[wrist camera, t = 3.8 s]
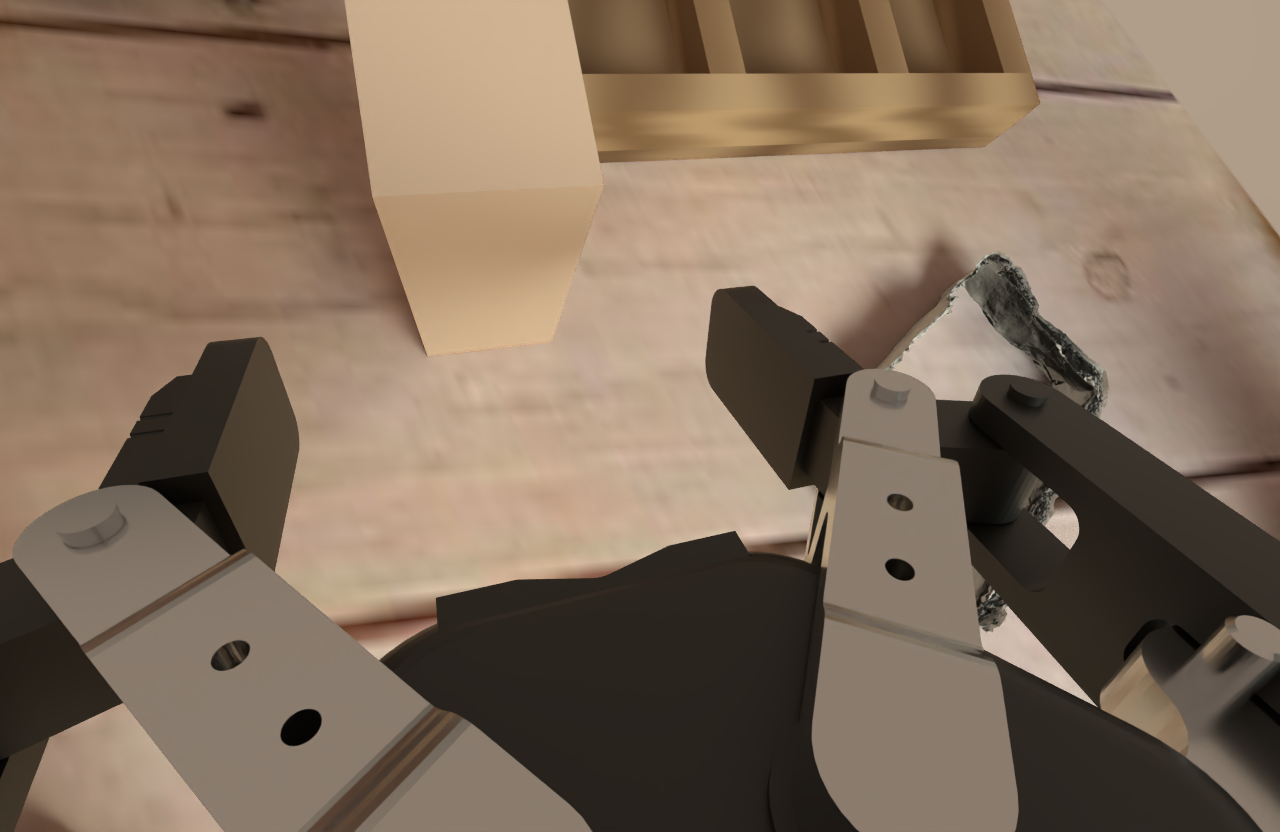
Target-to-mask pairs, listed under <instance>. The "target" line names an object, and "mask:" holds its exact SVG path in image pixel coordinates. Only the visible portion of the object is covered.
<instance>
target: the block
mask: <svg viewBox="0 0 1280 832" xmlns="http://www.w3.org/2000/svg"><path fill="white" fill-rule="evenodd" d="M345 7H346V14H347V22H348V29H349V36H350V43H351V50H352V57H353V64H354V71H355V78H356V85H357V92H358V100H359V107H360V114H361V121H362V128H363V135H364V142H365V149H366V156H367V163H368V170H369V177H370V185H371V192H372V198H373V201H374V203H375V206H376V209H377V212H378V215H379V218H380V221H381V224H382V226H383V229H384V232H385V235H386V238H387V241H388V244H389V247H390V249H391V252H392V255H393V258H394V261H395V264H396V267H397V270H398V273H399V275H400V278H401V281H402V284H403V287H404V290H405V293H406V296H407V298H408V301H409V304H410V307H411V310H412V313H413V316H414V319H415V322H416V324H417V327H418V330H419V333H420V336H421V339H422V342H423V345H424V347H425V350H426V353H427V356H437V355H445V354H454V353H462V352H471V351H479V350H487V349H496V348H504V347H513V346H521V345H530V344H538V343H547V342H552V339H553V336H554V333H555V330H556V327H557V324H558V322H559V319H560V316H561V313H562V310H563V307H564V304H565V301H566V298H567V295H568V292H569V289H570V286H571V283H572V280H573V277H574V274H575V271H576V268H577V265H578V262H579V259H580V256H581V253H582V250H583V247H584V244H585V241H586V238H587V235H588V232H589V229H590V226H591V223H592V220H593V217H594V214H595V211H596V208H597V205H598V202H599V199H600V196H601V193H602V190H603V187H604V182H603V177H602V172H601V167H600V162H599V157H598V152H597V147H596V142H595V137H594V132H593V127H592V122H591V117H590V111H589V106H588V101H587V96H586V91H585V86H584V81H583V76H582V71H581V66H580V61H579V56H578V51H577V46H576V41H575V36H574V30H573V25H572V20H571V15H570V10H569V5H568V0H345Z"/></svg>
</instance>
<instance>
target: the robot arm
mask: <svg viewBox="0 0 1280 832" xmlns="http://www.w3.org/2000/svg"><path fill="white" fill-rule="evenodd" d="M705 362H706V373H707V378H708V381H709V384H710V386H711V388H712V389H713V391H714V392H715V393H716V395H717V396H718V397H719V398H720V400H721V401H722V402H723V404H724V405H725V406H726V408H727V409H728V410H729V412H730V413H731V414H732V416H733V417H734V418H735V420H736V421H737V422H738V424H739V425H740V426H741V428H742V429H743V430H744V431H745V433H746V434H747V435H748V437H749V438H750V439H751V441H752V442H753V443H754V445H755V446H756V447H757V449H758V450H759V451H760V453H761V454H762V455H763V457H764V458H765V459H766V461H767V462H768V463H769V464H770V466H771V467H772V468H773V470H774V471H775V472H776V474H777V475H778V476H779V478H780V479H781V480H782V482H783V483H784V484H785V486H786V487H787V488H788V490H790V489H795V488H800V487H805V486H809V485H814V484H815V486H816V487H817V488H818V490H817V494H816V498H815V502H814V506H813V512H812V518H811V524H810V529H809V535H808V541H807V547H806V553H805V559H804V561H803V560H799V559H796V558H792V557H789V556H784V555H779V554H773V553H764V552H748V551H747V550H746V548H745V546H744V545H743V543H742V541H741V540H740V538H739V536H738V535H737V533H736V531H733V532H728V533H724V534H719V535H715V536H710V537H706V538H701V539H697V540H692V541H688V542H683V543H679V544H674V545H670V546H667V547H665V548H663V549H661V550H659V551H657V552H655V553H653V554H651V555H648V556H646V557H644V558H642V559H640V560H638V561H636V562H634V563H632V564H630V565H627V566H625V567H623V568H621V569H619V570H617V571H615V572H613V573H611V574H609V575H606V576H603V577H599V578H581V579H528V580H514V581H509V582H505V583H500V584H496V585H491V586H487V587H482V588H478V589H473V590H469V591H464V592H460V593H456V594H451V595H447V596H442V597H438V598H436V606H437V622H438V623H437V624H435V625H433V626H431V627H429V628H426V629H424V630H422V631H421V632H419V633H417V634H416V635H414V636H412V637H411V638H409V639H407V640H405V641H404V642H403V643H401V644H400V645H398V646H397V647H396V648H394V649H393V650H391V651H390V652H389V653H387V654H386V655H385V656H384V657H382V658H381V659H380V660H378V659H377V658H375V657H374V656H373V655H372V654H371V653H370V652H368V651H367V650H366V649H365V648H364V647H363V646H361V645H360V644H359V643H358V642H357V641H355V640H354V639H353V638H352V637H351V636H350V635H348V634H347V633H346V632H345V631H344V630H342V629H341V628H340V627H339V626H338V625H337V624H335V623H334V622H333V621H332V620H331V619H329V618H328V617H327V616H326V615H325V614H324V613H322V612H321V611H320V610H319V609H318V608H316V607H315V606H314V605H313V604H312V603H311V602H309V601H308V600H307V599H306V598H305V597H304V596H302V595H301V594H300V593H299V592H298V591H296V590H295V589H294V588H293V587H292V586H291V585H289V584H288V583H287V582H286V581H285V580H283V579H282V578H281V577H280V576H279V575H278V574H276V573H275V567H276V562H277V557H278V552H279V547H280V542H281V537H282V532H283V527H284V522H285V517H286V512H287V507H288V502H289V497H290V493H291V488H292V483H293V478H294V473H295V468H296V463H297V458H298V453H299V433H298V427H297V422H296V418H295V415H294V412H293V409H292V407H291V404H290V401H289V398H288V395H287V393H286V390H285V387H284V384H283V382H282V379H281V376H280V373H279V371H278V368H277V365H276V362H275V359H274V357H273V354H272V351H271V349H270V347H269V345H268V343H267V341H266V340H265V339H264V338H263V337H256V338H246V339H237V340H228V341H218V342H210V343H208V344H207V346H206V348H205V350H204V352H203V354H202V356H201V358H200V360H199V362H198V364H197V366H196V368H195V370H194V372H193V374H192V375H185V376H177V377H176V378H174V379H173V380H172V381H171V382H169V383H168V384H167V385H165V386H164V387H163V388H161V389H160V390H159V391H158V392H156V393H155V394H154V395H152V396H151V398H150V400H149V401H148V403H147V405H146V407H145V408H144V410H143V412H142V414H141V415H140V421H137V422H136V424H135V426H134V428H133V429H132V431H131V433H130V436H131V438H128V439H127V440H126V442H125V443H124V445H123V447H122V449H121V450H120V452H119V454H118V456H117V457H116V459H115V461H114V463H113V464H112V466H111V468H110V470H109V471H108V473H107V475H106V477H105V478H104V480H103V482H102V483H101V485H100V487H99V489H98V490H95V491H91V492H88V493H85V494H82V495H80V496H77V497H75V498H72V499H70V500H68V501H66V502H64V503H62V504H60V505H58V506H56V507H54V508H53V509H51V510H49V511H48V512H46V513H44V514H43V515H42V516H40V517H39V518H38V519H36V520H35V521H34V522H33V523H31V524H30V525H29V526H28V527H27V528H26V529H25V530H24V531H23V533H22V534H21V535H20V536H19V538H18V539H17V541H16V543H15V545H14V549H13V559H10V560H7V561H5V562H2V563H0V832H14V829H15V826H16V824H17V821H18V818H19V816H20V813H21V811H22V808H23V805H24V803H25V800H26V797H27V795H28V792H29V790H30V787H31V784H32V782H33V779H34V776H35V774H36V771H37V769H38V766H39V763H40V761H41V758H42V755H43V753H44V750H45V748H46V745H47V742H48V740H49V737H51V736H53V735H55V734H58V733H60V732H62V731H64V730H66V729H68V728H70V727H72V726H75V725H77V724H79V723H81V722H83V721H85V720H87V719H89V718H92V717H94V716H96V715H98V714H100V713H102V712H104V711H106V710H108V709H111V708H113V707H115V706H117V705H119V704H121V703H124V704H125V705H126V707H127V708H128V709H129V711H130V712H131V713H132V714H133V716H134V717H135V718H136V719H137V721H138V722H139V723H140V725H141V726H142V727H143V728H144V730H145V731H146V732H147V734H148V735H149V736H150V737H151V739H152V740H153V741H154V742H155V744H156V745H157V746H158V748H159V749H160V750H161V751H162V753H163V754H164V755H165V757H166V758H167V759H168V760H169V762H170V763H171V764H172V765H173V767H174V768H175V769H176V771H177V772H178V773H179V774H180V776H181V777H182V778H183V780H184V781H185V782H186V783H187V785H188V786H189V787H190V789H191V790H192V791H193V792H194V794H195V795H196V796H197V797H198V799H199V800H200V801H201V803H202V804H203V805H204V806H205V808H206V809H207V810H208V812H209V813H210V814H211V815H212V817H213V818H214V819H215V820H216V822H217V823H218V824H219V826H220V827H221V828H222V829H223V831H224V832H1280V541H1278V540H1277V539H1275V538H1274V537H1272V536H1271V535H1269V534H1268V533H1266V532H1265V531H1263V530H1262V529H1261V528H1259V527H1258V526H1256V525H1255V524H1253V523H1252V522H1250V521H1249V520H1247V519H1246V518H1244V517H1243V516H1242V515H1240V514H1239V513H1237V512H1236V511H1234V510H1233V509H1231V508H1230V507H1228V506H1227V505H1225V504H1224V503H1222V502H1221V501H1220V500H1218V499H1217V498H1215V497H1214V496H1212V495H1211V494H1209V493H1208V492H1206V491H1205V490H1203V489H1202V488H1200V487H1199V486H1198V485H1196V484H1195V483H1193V482H1192V481H1190V480H1189V479H1187V478H1186V477H1184V476H1183V475H1181V474H1180V473H1178V472H1177V471H1176V470H1174V469H1173V468H1171V467H1170V466H1168V465H1167V464H1165V463H1164V462H1162V461H1161V460H1159V459H1158V458H1156V457H1155V456H1154V455H1152V454H1151V453H1149V452H1148V451H1146V450H1145V449H1143V448H1142V447H1140V446H1139V445H1137V444H1136V443H1135V442H1133V441H1132V440H1130V439H1129V438H1127V437H1126V436H1124V435H1123V434H1121V433H1120V432H1118V431H1117V430H1115V429H1114V428H1113V427H1111V426H1110V425H1108V424H1107V423H1105V422H1104V421H1102V420H1101V419H1099V418H1098V417H1096V416H1095V415H1093V414H1092V413H1091V412H1089V411H1088V410H1086V409H1085V408H1083V407H1082V406H1080V405H1079V404H1077V403H1076V402H1074V401H1073V400H1071V399H1070V398H1069V397H1067V396H1066V395H1064V394H1063V393H1061V392H1060V391H1058V390H1056V389H1055V388H1053V387H1051V386H1049V385H1047V384H1044V383H1042V382H1039V381H1036V380H1033V379H1030V378H1026V377H1021V376H1015V375H994V376H990V377H987V378H985V379H984V380H982V382H981V383H980V386H979V388H978V390H977V393H976V395H975V398H974V400H973V401H952V400H936V399H935V395H934V393H933V392H932V391H931V389H930V388H929V387H928V386H926V385H925V384H924V383H922V382H921V381H919V380H917V379H916V378H914V377H911V376H909V375H906V374H903V373H900V372H897V371H892V370H886V369H865V370H864V369H863V368H862V367H861V366H859V365H858V364H857V363H856V362H855V361H854V360H852V359H851V358H850V357H849V356H848V355H846V354H845V353H844V352H843V351H842V350H841V349H839V348H838V347H837V346H836V345H835V344H834V343H832V342H829V339H828V338H827V337H825V336H824V335H823V334H822V333H821V332H817V329H816V328H815V327H814V326H812V325H811V324H810V323H809V322H808V321H807V320H805V319H804V318H803V317H802V316H800V315H797V314H795V313H793V312H791V311H789V310H786V309H784V308H782V307H779V306H778V305H776V304H775V303H774V302H773V301H772V300H771V299H770V298H768V297H767V296H766V295H765V294H764V293H763V292H762V291H760V290H759V289H758V288H757V287H755V286H745V287H736V288H726V289H718V290H717V291H716V292H715V294H714V296H713V299H712V304H711V314H710V323H709V332H708V341H707V350H706V361H705ZM1038 479H1039V480H1040V481H1042V482H1043V483H1044V484H1045V485H1046V486H1047V487H1049V488H1050V489H1051V490H1052V491H1053V492H1054V493H1056V494H1057V495H1058V496H1059V497H1060V498H1062V499H1063V500H1064V501H1065V502H1066V503H1067V504H1068V505H1069V506H1070V507H1071V508H1072V509H1073V510H1074V512H1075V514H1076V516H1077V518H1078V522H1079V535H1078V538H1077V540H1076V542H1075V543H1074V545H1073V546H1072V548H1071V549H1068V548H1067V547H1066V546H1065V545H1064V544H1063V543H1062V542H1061V541H1060V540H1059V539H1058V538H1057V537H1055V536H1054V535H1053V534H1052V533H1051V532H1050V531H1049V530H1048V529H1047V528H1046V527H1045V526H1044V525H1043V524H1041V523H1040V522H1039V521H1038V520H1037V519H1036V518H1035V517H1034V516H1033V515H1032V514H1031V513H1030V512H1028V511H1027V510H1026V509H1025V508H1024V505H1025V503H1026V502H1027V500H1028V498H1029V496H1030V494H1031V492H1032V491H1033V489H1034V487H1035V485H1036V483H1037V481H1038ZM972 566H973V567H974V568H975V569H976V570H977V572H978V573H979V574H980V575H981V576H982V577H983V578H984V579H985V581H986V582H987V583H988V584H989V585H990V586H991V587H992V588H993V590H994V591H995V592H996V593H997V594H998V595H999V596H1000V597H1001V599H1002V600H1003V601H1004V602H1005V603H1006V604H1007V605H1008V606H1009V608H1010V609H1011V610H1012V611H1013V612H1014V613H1015V614H1016V615H1017V617H1018V618H1019V619H1020V620H1021V621H1022V622H1023V623H1024V624H1025V626H1026V627H1027V628H1028V629H1029V630H1030V631H1031V632H1032V633H1033V635H1034V636H1035V637H1036V638H1037V639H1038V640H1039V641H1040V642H1041V644H1042V645H1043V646H1044V647H1045V648H1046V649H1047V650H1048V651H1049V653H1050V654H1051V655H1052V656H1053V657H1054V658H1055V659H1056V661H1057V662H1058V663H1059V664H1060V665H1061V666H1062V667H1063V668H1064V670H1065V671H1066V672H1067V673H1068V674H1069V675H1070V676H1071V677H1072V679H1073V680H1074V681H1075V682H1076V683H1077V684H1078V685H1079V686H1080V688H1081V689H1082V690H1083V691H1084V692H1085V693H1086V694H1087V695H1088V697H1089V698H1090V699H1091V700H1092V701H1093V702H1094V703H1095V704H1096V706H1097V707H1096V706H1094V705H1092V704H1090V703H1088V702H1086V701H1084V700H1082V699H1080V698H1078V697H1076V696H1074V695H1072V694H1070V693H1068V692H1066V691H1064V690H1062V689H1060V688H1058V687H1056V686H1054V685H1052V684H1050V683H1048V682H1047V681H1045V680H1043V679H1041V678H1039V677H1037V676H1035V675H1033V674H1031V673H1029V672H1027V671H1025V670H1023V669H1021V668H1019V667H1017V666H1015V665H1013V664H1011V663H1009V662H1007V661H1005V660H1003V659H1001V658H999V657H997V656H995V655H993V654H991V653H989V652H987V651H985V650H983V647H982V644H981V638H980V630H979V622H978V614H977V606H976V598H975V590H974V581H973V573H972Z"/></svg>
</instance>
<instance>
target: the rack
mask: <svg viewBox="0 0 1280 832" xmlns="http://www.w3.org/2000/svg"><path fill="white" fill-rule="evenodd" d="M568 5H569V10H570V15H571V20H572V25H573V30H574V36H575V41H576V46H577V51H578V56H579V61H580V66H581V71H582V76H583V81H584V86H585V91H586V96H587V101H588V106H589V111H590V117H591V122H592V127H593V132H594V137H595V142H596V147H597V152H598V157H599V162H600V163H605V162H629V161H653V160H678V159H702V158H726V157H750V156H774V155H798V154H822V153H846V152H871V151H895V150H919V149H943V148H967V147H985V146H986V145H987V144H989V143H990V142H991V141H993V140H994V139H995V138H996V137H998V136H999V135H1000V134H1002V133H1003V132H1004V131H1006V130H1007V129H1008V128H1009V127H1011V126H1012V125H1013V124H1015V123H1016V122H1017V121H1018V120H1020V119H1021V118H1022V117H1024V116H1025V115H1026V114H1027V113H1029V112H1030V111H1031V110H1033V109H1034V108H1035V107H1036V106H1038V105H1039V104H1040V100H1039V97H1038V94H1037V91H1036V87H1035V84H1034V81H1033V78H1032V74H1031V71H1030V68H1029V65H1028V62H1027V58H1026V55H1025V52H1024V49H1023V45H1022V42H1021V39H1020V36H1019V32H1018V29H1017V26H1016V23H1015V19H1014V16H1013V13H1012V10H1011V7H1010V3H1009V0H568Z"/></svg>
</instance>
